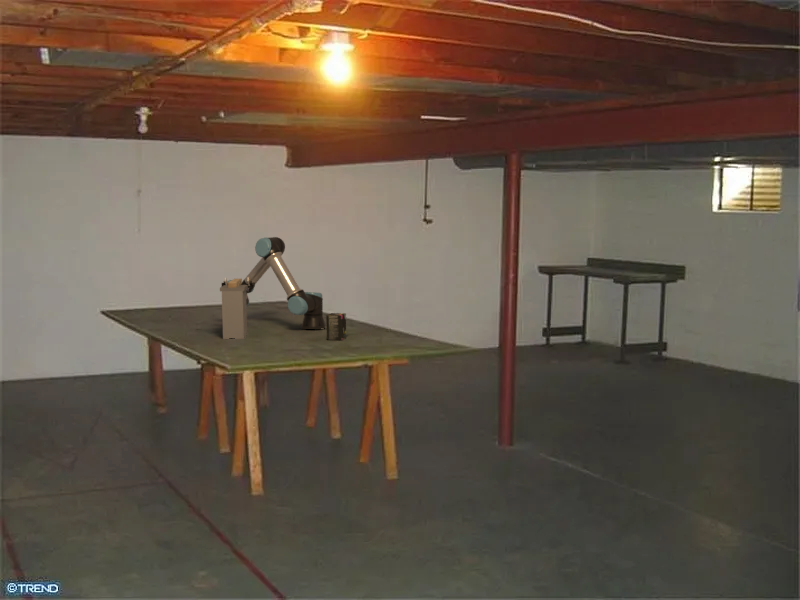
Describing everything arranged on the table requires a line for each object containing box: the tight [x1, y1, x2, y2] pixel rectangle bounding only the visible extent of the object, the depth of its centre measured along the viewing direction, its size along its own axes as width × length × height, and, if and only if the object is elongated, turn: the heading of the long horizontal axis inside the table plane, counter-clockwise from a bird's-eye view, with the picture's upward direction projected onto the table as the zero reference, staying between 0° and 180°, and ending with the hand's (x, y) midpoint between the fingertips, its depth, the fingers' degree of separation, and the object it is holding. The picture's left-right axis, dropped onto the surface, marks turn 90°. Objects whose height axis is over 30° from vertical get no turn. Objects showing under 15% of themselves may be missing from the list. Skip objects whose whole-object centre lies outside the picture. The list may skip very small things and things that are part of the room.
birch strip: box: [228, 278, 243, 288], centre depth 533 cm, size 28×4×3 cm, turn 3°
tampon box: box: [325, 312, 347, 341], centre depth 518 cm, size 11×9×15 cm
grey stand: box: [219, 285, 248, 340], centre depth 529 cm, size 18×14×30 cm
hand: (236, 279), depth 540 cm, fingers open, 13 cm apart
